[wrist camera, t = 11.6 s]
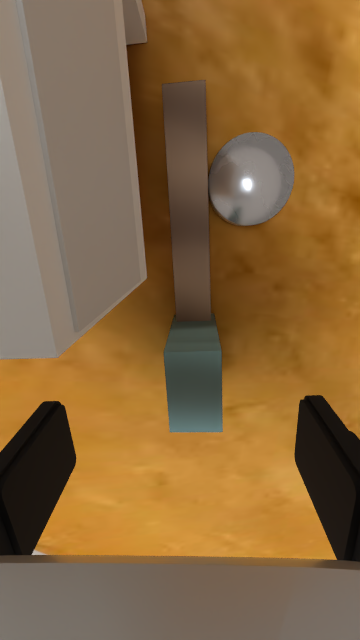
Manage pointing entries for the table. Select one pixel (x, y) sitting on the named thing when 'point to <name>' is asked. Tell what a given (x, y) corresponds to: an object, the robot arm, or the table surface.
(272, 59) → the table surface
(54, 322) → the cabinet
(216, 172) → the silver metal dome
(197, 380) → the mallet
